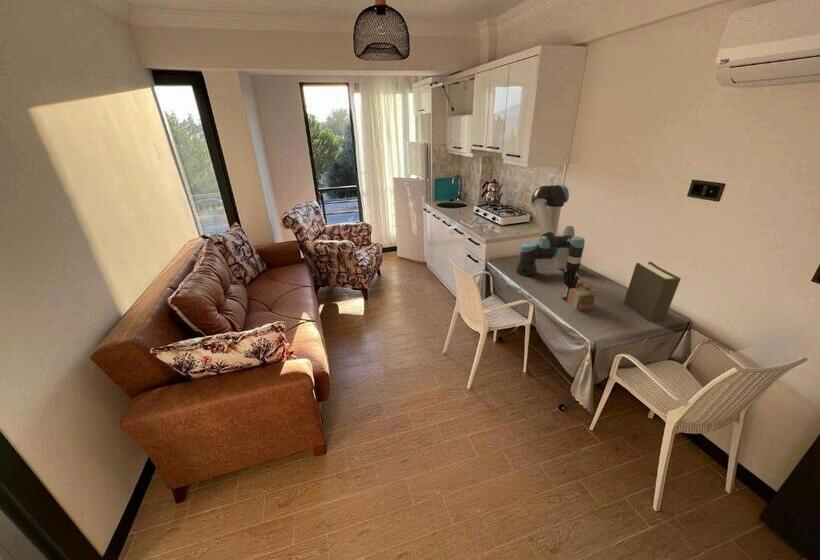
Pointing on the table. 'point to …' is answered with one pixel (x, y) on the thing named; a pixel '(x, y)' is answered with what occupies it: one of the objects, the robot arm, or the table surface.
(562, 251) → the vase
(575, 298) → the book green
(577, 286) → the bookend
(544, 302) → the table surface
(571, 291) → the book rust
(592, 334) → the table surface
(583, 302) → the shelf
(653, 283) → the book
